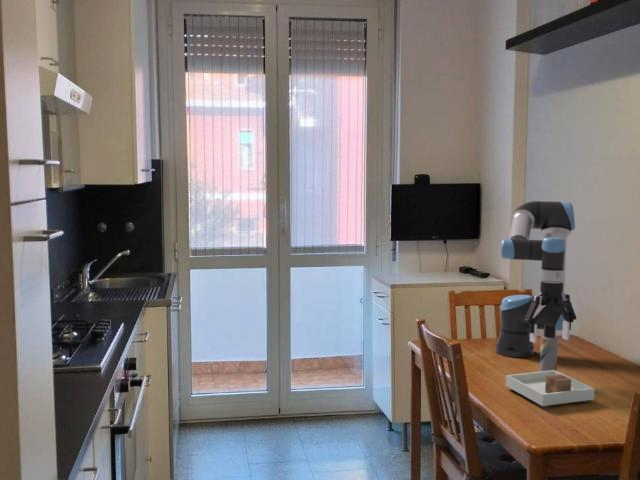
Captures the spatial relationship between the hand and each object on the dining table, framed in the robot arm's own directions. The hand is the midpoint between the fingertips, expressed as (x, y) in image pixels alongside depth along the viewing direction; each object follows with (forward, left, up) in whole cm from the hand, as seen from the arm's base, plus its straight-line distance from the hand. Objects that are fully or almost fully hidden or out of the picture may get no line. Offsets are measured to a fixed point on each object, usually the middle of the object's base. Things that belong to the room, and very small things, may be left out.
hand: (549, 340), depth 231 cm
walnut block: (+19, -11, -12) cm, 25 cm away
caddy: (+15, -11, -14) cm, 23 cm away
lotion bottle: (0, 0, -14) cm, 14 cm away
